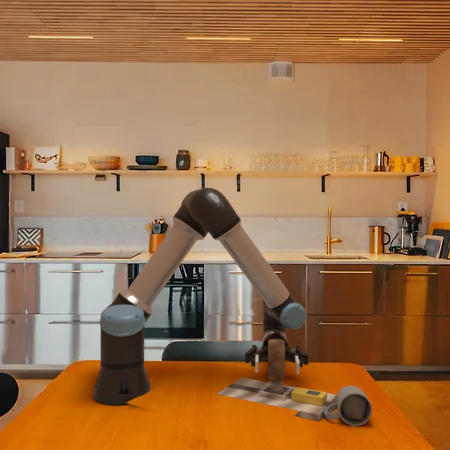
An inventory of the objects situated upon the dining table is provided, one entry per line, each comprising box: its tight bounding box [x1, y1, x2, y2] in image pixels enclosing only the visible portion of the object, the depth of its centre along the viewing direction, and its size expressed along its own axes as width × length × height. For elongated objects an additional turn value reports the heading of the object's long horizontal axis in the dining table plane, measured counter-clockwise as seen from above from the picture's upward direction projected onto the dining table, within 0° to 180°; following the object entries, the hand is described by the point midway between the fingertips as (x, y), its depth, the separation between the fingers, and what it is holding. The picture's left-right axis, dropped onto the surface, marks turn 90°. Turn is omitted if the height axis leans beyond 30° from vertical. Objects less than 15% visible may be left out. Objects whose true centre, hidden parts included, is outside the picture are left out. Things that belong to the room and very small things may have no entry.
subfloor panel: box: [216, 377, 337, 422], centre depth 127 cm, size 28×15×3 cm, turn 62°
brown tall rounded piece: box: [267, 339, 286, 395], centre depth 127 cm, size 4×4×14 cm
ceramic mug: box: [324, 385, 373, 427], centre depth 116 cm, size 11×8×8 cm
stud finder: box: [292, 386, 328, 406], centre depth 123 cm, size 8×4×2 cm, turn 61°
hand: (277, 367), depth 123 cm, fingers open, 10 cm apart
